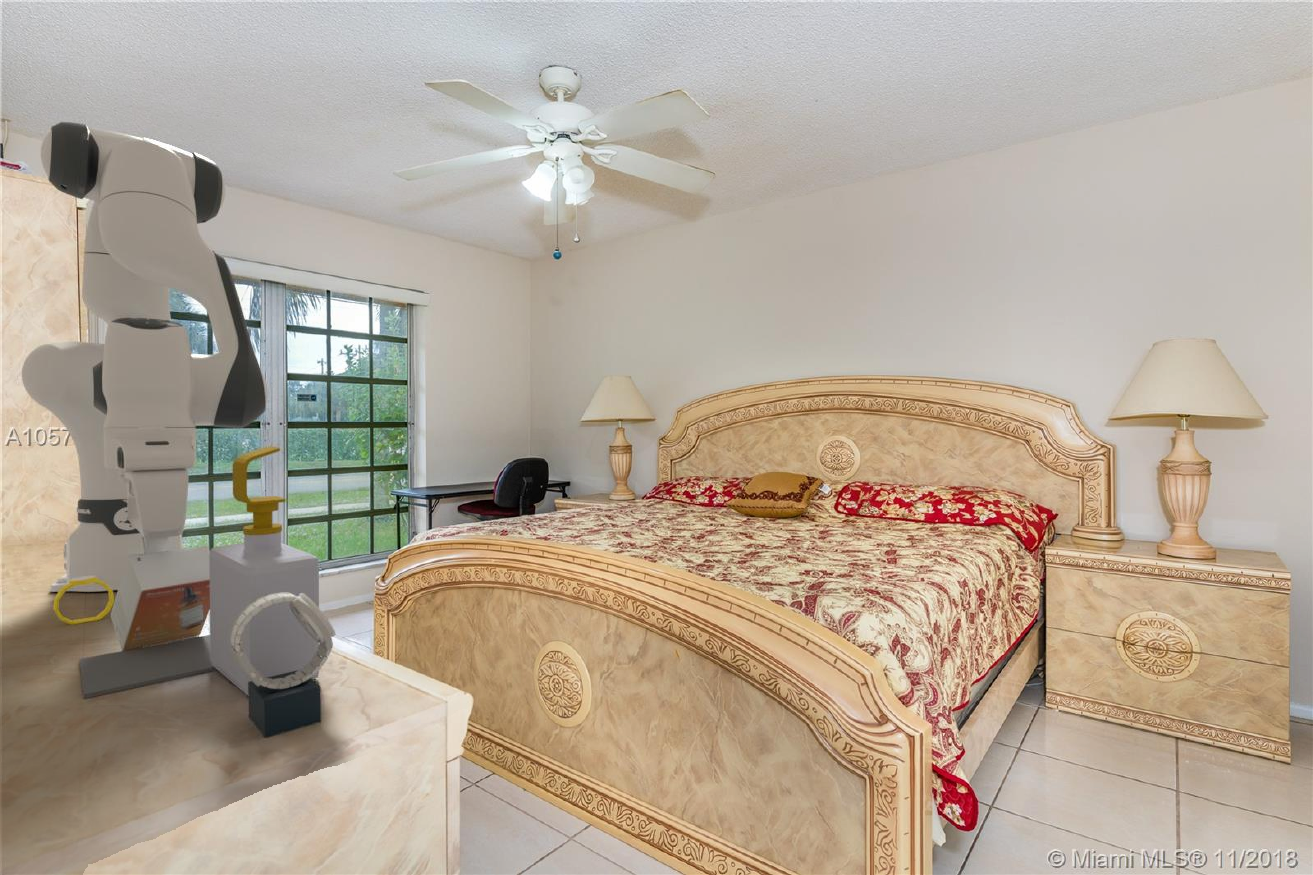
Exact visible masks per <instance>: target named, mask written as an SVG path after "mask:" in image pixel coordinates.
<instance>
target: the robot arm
mask: <svg viewBox="0 0 1313 875" xmlns="http://www.w3.org/2000/svg"><path fill="white" fill-rule="evenodd" d="M40 146H41V147H40V159H41V164H42V167H43V169H44V172H45V174H46V175H47V178H48V182H49V183H50V184H52V185H53V186H54V187H55V189H57V191H60V192H61V193H64V194H67V195H69V196H71V197H74V198H76V199H80V200H84V198H85V199H88V200H90V201H93V203H92V204H93V205H92V207H91V210H90V214H89V218H88V221H87V227H86V231H85V238H84V248H83V250H84V251H83V263H82V264H83V266H82V267H83V268H82V283H81V285H82V288H81V297H82V302H83V303H84V305H85V307H86V308H87V309H88V311H89V312H91V313H92V314H93V315H94V316H96V317H98V318H99V319H101V320H102V321H104V322H105V323H106V324H107V326H106V328H107V329H106V332H105V338H104V343H97V342H87V341H63V342H56V343H55V342H54V343H53V342H51V343H45V344H40V345H39V346H37V347H36V348H34V349H33V350H32V351H31V352H30V353H29V354H28V355H27V357H26V358H25V360H24V362H23V365H22V369H21V381H22V384H23V387H24V389H25V391H26V392H27V394H28V396H29V397H31V399H32V400H33V401H34V402H36V403H37V404H38V405H40V406H42V407H43V408H44V409H46V410H47V411H49V412H51V413H52V414H53V415H54V416H55V417H56V418H57V419H58V420H59V421H60V422H61V424H62V425H63V426H64V427H65V429H66V430H67V432H68V434H69V435H70V438H71V439H72V440H73V441H72V442H73V443H74V447H75V449H76V452H77V454H76V455H77V458H78V466H79V478H80V479H79V480H80V496H81V497H80V498H79V499H78V500H77V507H76V513H77V521H78V522H79V525H78V526H77V528H76V529H75V530H74V531H72V532H71V533H70V534H69V536H67V537H66V542H64V545H63V559H64V560H66V561H64V564H63V566H64V567H63V568H64V570H65V571H66V573H65V574H64V575H62V576H60V578H58V579H57V580H56V581H54V582H52V584H50V587H49V592H51V593H52V592H53V593H54V592H57V593H58V592H59V591H60V589H61V588H63V587H64V586H65V585H67V584H69V580H70V579H73V578H76V577H82V576H91V575H94V576H97V580H100V581H103V582H105V583H106V584H107V585H108V586H109V587H110V588H111V589H112V591H118V588H119V585H120V581H121V578H122V574H123V570H124V567H125V564H126V560H127V557H128V555H136V554H147V553H155V552H163V551H171V550H179V549H184V547H183V546H184V545H183V532H184V529H185V526H186V519H187V509H188V496H189V495H188V494H189V470H191V469H194V468H195V466H196V465H197V460H198V459H197V435H196V434H197V430H196V428H197V427H198V426H199V427H200V426H201V427H202V426H213V427H217V428H219V427H220V428H235V429H243V428H244V427H247V426H248V425H250V424H251V423H253V422H255V421H256V420H257V419H258V418H260V416H262V415H263V414H264V412H266V407H267V403H268V386H267V381H266V379H265V376H264V374H263V371H262V369H261V367H260V364H259V361H258V359H257V356H256V353H255V351H254V347H253V344H252V340H251V337H250V334H249V330H248V327H247V322H246V319H245V318H246V317H245V316H244V312H243V308H242V305H241V302H240V297H239V294H238V290H237V289H236V285H235V281H234V279H233V278H234V277H233V275H232V272H231V270H230V268H229V265H228V264H227V262H226V259H225V258H224V256H223V255H222V254H220V253H218V252H216V251H215V250H213V249H211V248H210V246H208V244H207V243H206V242H205V241H204V239H203V238H202V236H201V234H200V232H199V230H198V229H199V228H198V224H203V223H206V222H209V221H210V220H212V219H214V218H215V217H217V215H218V214H219V212H220V210H221V208H222V206H223V204H224V202H225V197H226V187H225V183H224V179H223V174H222V170H220V167H219V166H218V165H217V164H216V162H214V161H213V160H210V159H209V158H207V157H205V156H203V155H201V154H198V153H196V152H192V153H190V152H188V151H185V150H183V149H180V148H177V147H175V146H172V145H170V144H166V143H163V142H160V141H157V140H154V139H151V138H147V137H144V136H142V137H139V136H135V135H130V134H126V133H122V132H118V131H113V130H109V129H102V128H96V127H89V126H88V124H86V123H80V122H71V121H69V122H68V121H61V122H59V123H56V124H54V125H53V126H51V128H50V130H49V132H47V134H46V135H45V136H44V138H43V141H42V143H41V145H40ZM170 289H172V290H174V291H177V292H179V293H181V294H184V295H186V296H188V297H190V298H191V299H193V300H195V301H196V302H198V303H199V304H200V305H201V306H203V307H204V310H206V312H207V314H208V317H209V321H210V325H211V330H212V331H213V337H214V339H215V344H216V347H217V350H218V352H217V353H213V354H197V353H195V354H194V353H192V349H191V343H190V338H189V333H188V331H187V328H186V326H185V325H183V324H180V323H179V322H177V321H173V320H172V318H171V317H172V316H171V312H170V311H171V308H170ZM65 592H81V593H82V592H84V593H86V592H87V593H90V592H108V590H107V589H106V588H105V587H104V586H103V585H100V584H97V583H90V584H85V585H77V586H73V587H71V588H70V589H68V590H66V591H65Z"/></svg>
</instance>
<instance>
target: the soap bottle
mask: <svg viewBox="0 0 1313 875" xmlns="http://www.w3.org/2000/svg"><path fill="white" fill-rule="evenodd" d="M280 451H281V448H280V447H279V446H278V447H277V446H273V445H270V446H264V447H262V448H261V447H260V448H258V449H255V450H252V451H249V452H248V451H247V452H246V453H243V454H240V455H239V456H237V457H235V459H234V460H233V463H232V495H233V498H234V499H235V500H237V501H238V502H241V503H243V504H246V512H247V513H252V524H249V525H245V526H243V527H242V534H243V536H244V537H243V539H244V540H243V542H244V543H238V544H237V543H236V544H228V545H220V546H215V547H213V548H210V549H209V551H210V555H209V568H210V610H209V635H210V660H211V662H212V665H213V666H214V667H215V668H216V669H217V671H218V672H220V673H221V675H223V676H224V677H226V679H228V680H229V681H230V682H231V683H232V684H234V685H235V686H236V687H237V688H239V689H240V690H241V691H242V692H243V694H245V695H246V696H248V682H250V681H251V680H250V679H249V678H248V676H247V675H246V674H245V673H244V672H243V671H242V670H241V668H240V667H239V666H238V664H237V663H236V661H235V660H234V658H233V656H232V653H231V651H230V648H229V646H231V644H230V634H231V631H232V627H233V624H234V622H235V621H236V620H238V619H237V617H238V616H239V615H240V614H241V612H242V611H243V610H245V608H246V607H247V606H249V605H250V604H251V603H253V602H255V601H256V600H257V599H259V598H261V597H264V596H267V595H270V594H274V593H277V594H278V593H281V592H288V593H291V594H293V595H295V596H299V594H300V593H304V594H306V595H307V596H308V597H309V598H310V599H311V600H312V601H313V602H314V603H315V604H316V605H317V606H318V608H319V609H320V596H319V595H320V566H319V565H320V563H319V558H318V557H317V556H316V555H314V554H311V553H308V552H306V551H303V550H302V549H298V548H296V547H293V546H290V545H287V544H286V543H282V531H283V525H282V524H280V523H273V512H276V511H279V503H284V502H285V503H286V499H287V498H285V497H281V496H278V495H277V496H276V495H269V496H257V497H248V482H247V481H248V480H247V479H248V476H247V475H248V474H247V473H248V466H249V464H250V463H251V462H252V461H253V462H254V460H258V459H260V458H263V457H266V456H269V455H272V454H274V453H275V454H276V453H278V452H280ZM255 608H256V607H255ZM240 637H241V638H240V639H241V640H242V642H243V648H244V651H245V653H246V655H247V657H248V659H249V661H250V663H251V665H252V666H253V667H254V669H256V670H259V671H261V672H262V674H263V678H267V677H272V676H276V675H280V674H284V673H288V672H293V671H297V670H300V669H302V668H304V667H305V665H306V664H307V663H308V662H309V661H310V660H313V659H312V657H313V656H314V654H315V653H316V651H319V650H318V646H319V644H320V643H318V642H317V641H316V640H315V639H314V638H313V637H312V636H311V635H310V634H309V633H308V632H307V631H306V629H305V628H304V627H303V626H302V625H301V623H300V622H299V621H298V619H297V618H296V617H295V615H294V614H293V612H292V610H291V608H290V601H283V602H279V603H275V604H274V603H273V604H272V605H270V606H268V607H266V608H262V610H261V611H260V612H258V613H257V614H256V615H254V616H252V618H251V620H250V621H249V622H248V623H247V624H246V625H245V628H244V629H243V632H242V634H241V635H240ZM313 666H314V665H313ZM314 667H315V666H314ZM319 672H320V670H319V671H318V672H317V673H316V674H315V675H312V677H311V678H312V679H313V680H314V681H315V679H317V678H319V674H320V673H319Z"/></svg>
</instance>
